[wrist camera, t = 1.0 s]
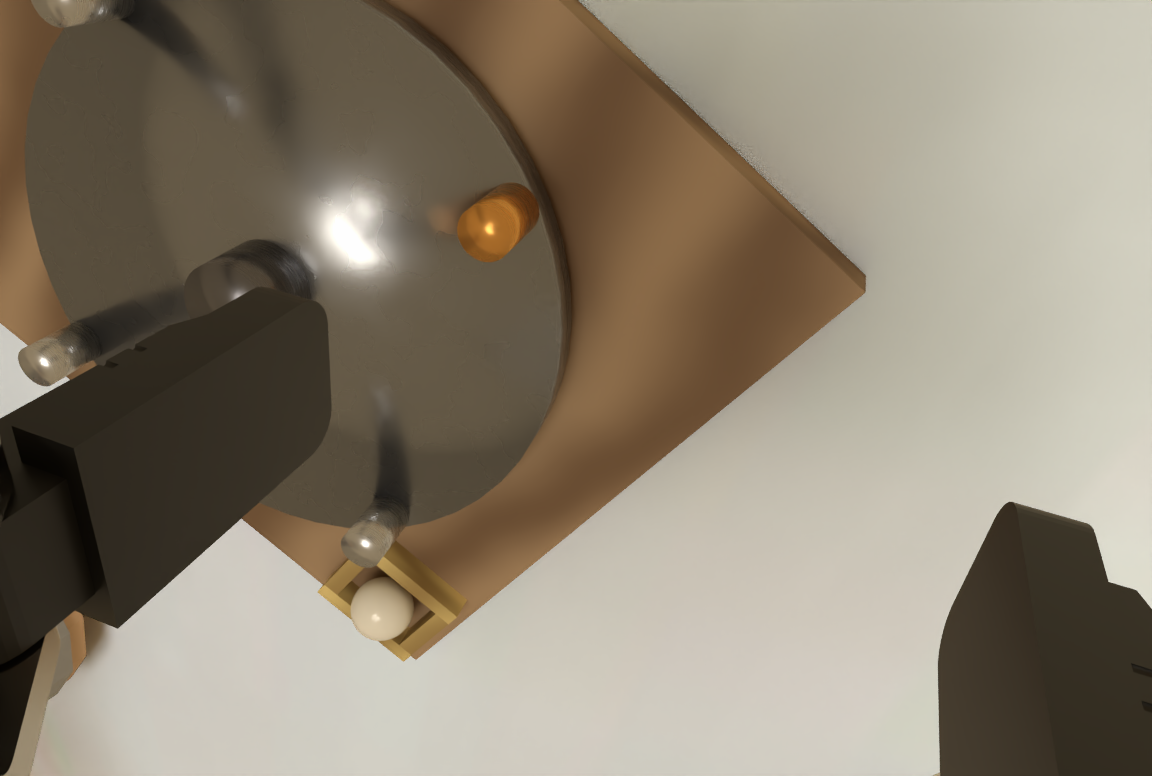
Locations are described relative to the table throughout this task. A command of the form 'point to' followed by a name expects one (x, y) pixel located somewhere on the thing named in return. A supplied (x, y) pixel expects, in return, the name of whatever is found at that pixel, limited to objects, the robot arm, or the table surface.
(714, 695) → the table surface
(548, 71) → the stand
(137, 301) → the round metal platter
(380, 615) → the ball
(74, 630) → the desk lamp
